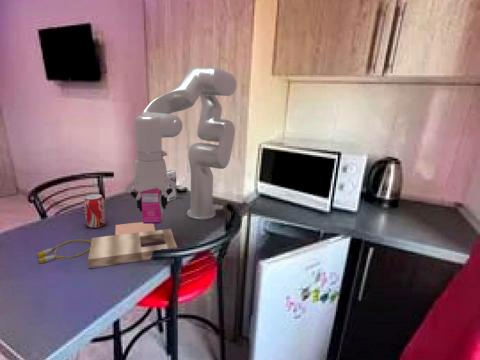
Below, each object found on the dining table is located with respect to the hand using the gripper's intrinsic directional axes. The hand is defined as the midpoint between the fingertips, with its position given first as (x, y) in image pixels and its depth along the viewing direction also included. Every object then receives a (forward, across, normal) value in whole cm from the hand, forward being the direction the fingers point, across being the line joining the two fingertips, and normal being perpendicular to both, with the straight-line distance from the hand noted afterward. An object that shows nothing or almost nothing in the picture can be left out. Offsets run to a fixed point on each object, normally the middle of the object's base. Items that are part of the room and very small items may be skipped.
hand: (152, 208), depth 97 cm
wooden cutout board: (+14, +7, +1) cm, 16 cm away
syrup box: (+15, -11, -46) cm, 50 cm away
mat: (+15, +6, -14) cm, 21 cm away
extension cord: (+15, +27, -5) cm, 32 cm away
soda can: (+15, +20, -23) cm, 34 cm away
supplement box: (+5, 0, 0) cm, 5 cm away
